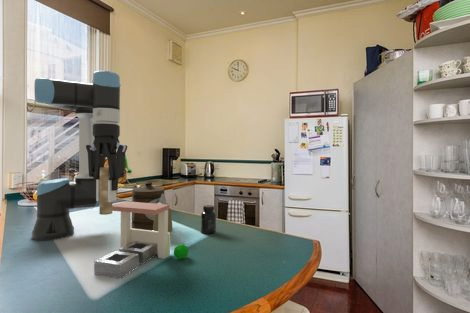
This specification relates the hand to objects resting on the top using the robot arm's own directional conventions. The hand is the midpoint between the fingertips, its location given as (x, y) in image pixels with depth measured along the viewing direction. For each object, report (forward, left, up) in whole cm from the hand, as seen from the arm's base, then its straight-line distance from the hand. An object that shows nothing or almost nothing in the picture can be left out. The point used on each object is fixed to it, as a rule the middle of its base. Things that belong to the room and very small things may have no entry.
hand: (106, 200), depth 88 cm
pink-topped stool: (+4, +12, -21) cm, 25 cm away
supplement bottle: (+16, +47, -22) cm, 54 cm away
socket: (+4, +1, -21) cm, 22 cm away
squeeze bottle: (0, +35, -22) cm, 41 cm away
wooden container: (-15, +46, -22) cm, 53 cm away
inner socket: (+4, +12, -21) cm, 25 cm away
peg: (0, 0, -4) cm, 4 cm away
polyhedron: (+18, +16, -22) cm, 32 cm away
